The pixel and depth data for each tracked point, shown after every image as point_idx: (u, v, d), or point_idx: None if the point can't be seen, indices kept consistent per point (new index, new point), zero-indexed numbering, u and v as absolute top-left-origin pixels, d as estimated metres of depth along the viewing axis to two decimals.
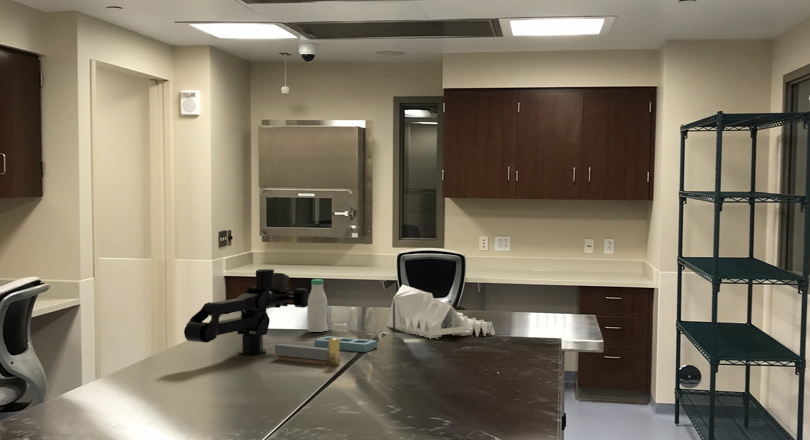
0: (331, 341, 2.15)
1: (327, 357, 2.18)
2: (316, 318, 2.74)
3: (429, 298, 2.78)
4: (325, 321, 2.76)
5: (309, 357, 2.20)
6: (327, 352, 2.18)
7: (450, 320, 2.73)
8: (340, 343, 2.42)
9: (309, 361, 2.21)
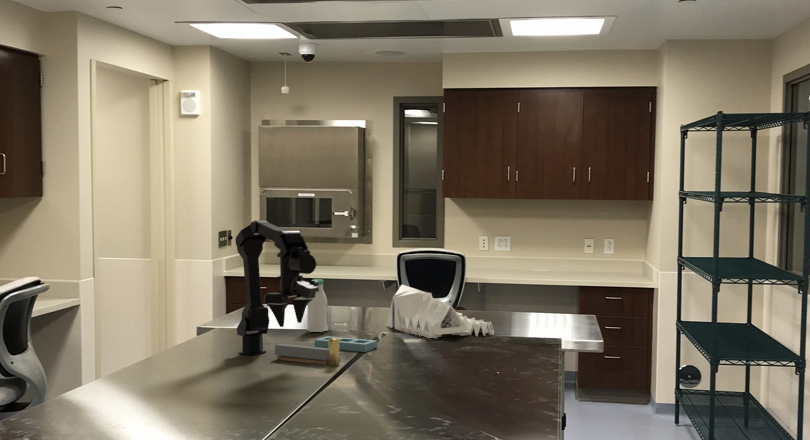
0: (331, 341, 2.15)
1: (327, 357, 2.18)
2: (316, 318, 2.74)
3: (429, 298, 2.78)
4: (325, 321, 2.76)
5: (309, 357, 2.20)
6: (327, 352, 2.18)
7: (450, 320, 2.74)
8: (340, 343, 2.42)
9: (309, 361, 2.21)
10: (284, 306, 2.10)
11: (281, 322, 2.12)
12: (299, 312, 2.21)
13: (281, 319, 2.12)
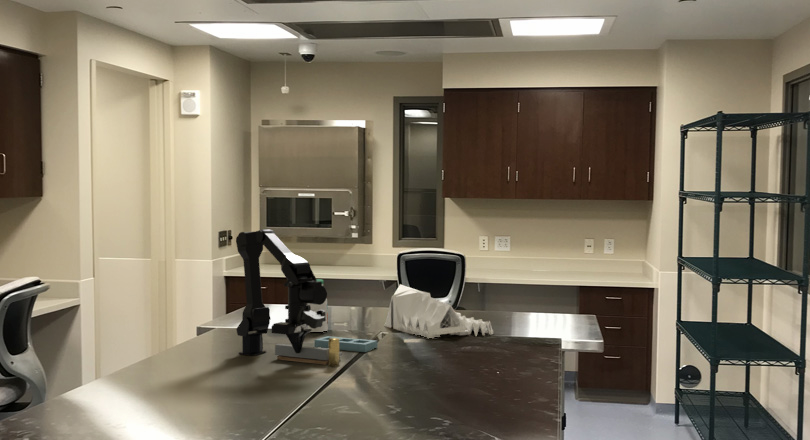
0: (331, 341, 2.15)
1: (327, 357, 2.18)
2: None
3: (428, 298, 2.79)
4: (325, 321, 2.76)
5: (309, 357, 2.20)
6: (327, 352, 2.18)
7: (449, 320, 2.74)
8: (340, 343, 2.42)
9: (309, 361, 2.21)
10: (300, 334, 2.18)
11: (297, 349, 2.20)
12: None
13: (297, 346, 2.20)
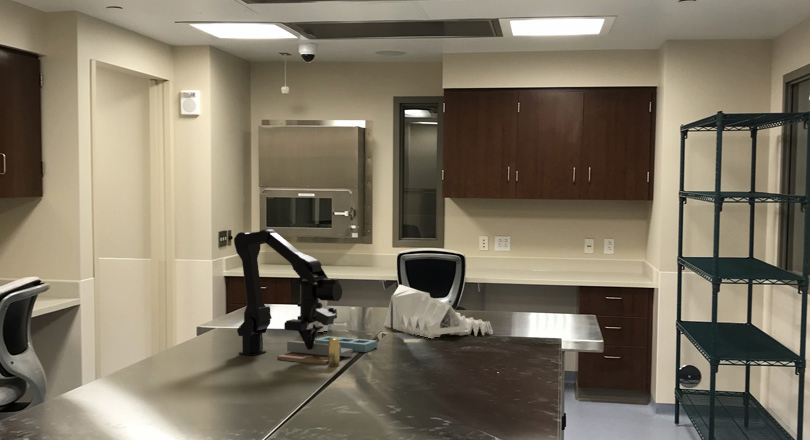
0: (331, 341, 2.15)
1: None
2: None
3: (427, 298, 2.79)
4: None
5: (321, 353, 2.26)
6: None
7: (449, 320, 2.74)
8: (340, 343, 2.42)
9: (309, 361, 2.21)
10: (312, 331, 2.23)
11: (309, 345, 2.26)
12: None
13: (309, 342, 2.25)
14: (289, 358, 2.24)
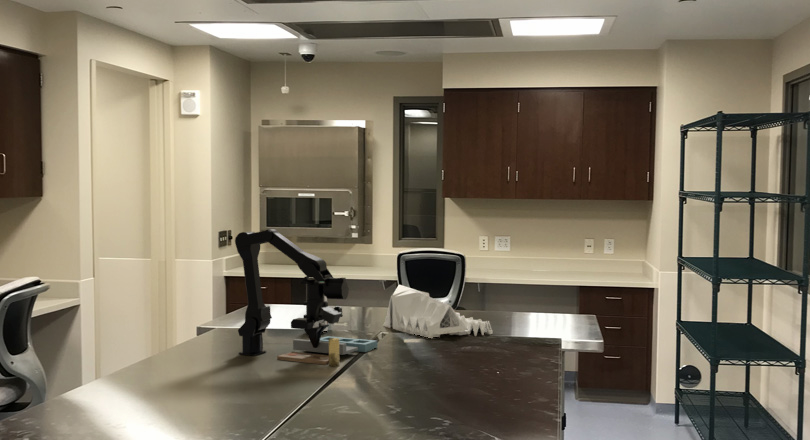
0: (331, 341, 2.15)
1: (344, 351, 2.27)
2: None
3: (427, 298, 2.79)
4: (325, 321, 2.76)
5: (326, 352, 2.29)
6: (344, 347, 2.27)
7: (448, 319, 2.74)
8: None
9: (309, 361, 2.21)
10: (318, 329, 2.26)
11: (315, 343, 2.28)
12: None
13: (315, 341, 2.28)
14: (289, 358, 2.24)
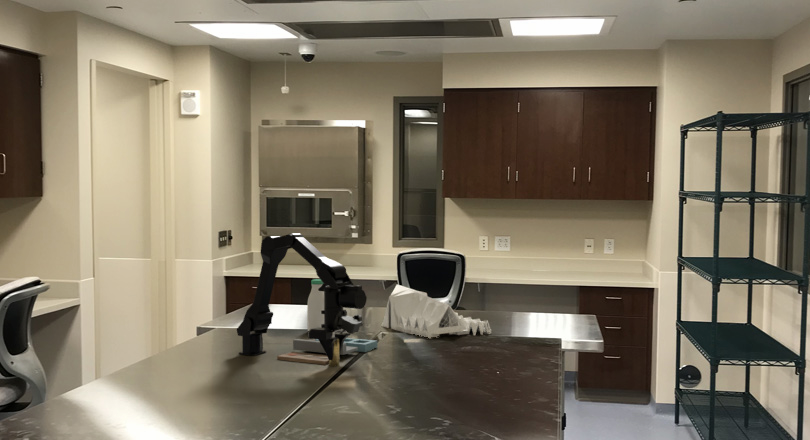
0: None
1: (344, 351, 2.27)
2: (316, 318, 2.74)
3: (425, 297, 2.79)
4: None
5: None
6: (344, 347, 2.27)
7: (447, 319, 2.75)
8: None
9: (309, 361, 2.21)
10: (334, 340, 2.12)
11: (330, 355, 2.15)
12: None
13: (330, 352, 2.14)
14: (289, 358, 2.24)
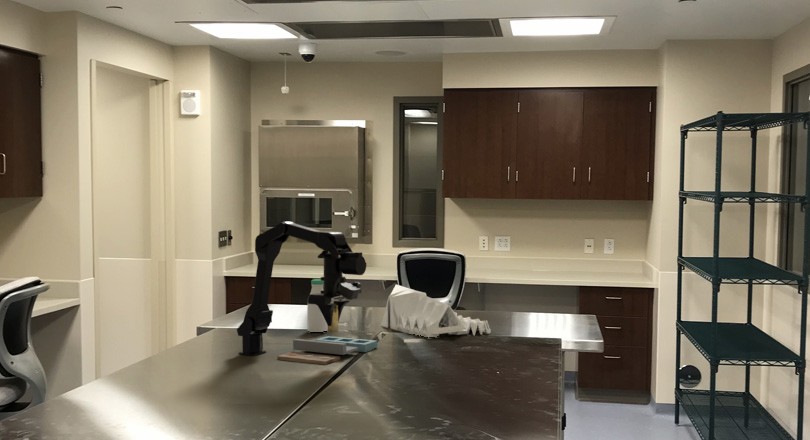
0: None
1: (344, 351, 2.27)
2: (316, 318, 2.74)
3: (425, 297, 2.80)
4: (325, 321, 2.76)
5: (326, 352, 2.29)
6: (344, 347, 2.27)
7: (447, 319, 2.75)
8: None
9: (309, 361, 2.21)
10: (333, 306, 2.15)
11: (329, 321, 2.18)
12: None
13: (329, 318, 2.17)
14: (289, 358, 2.24)
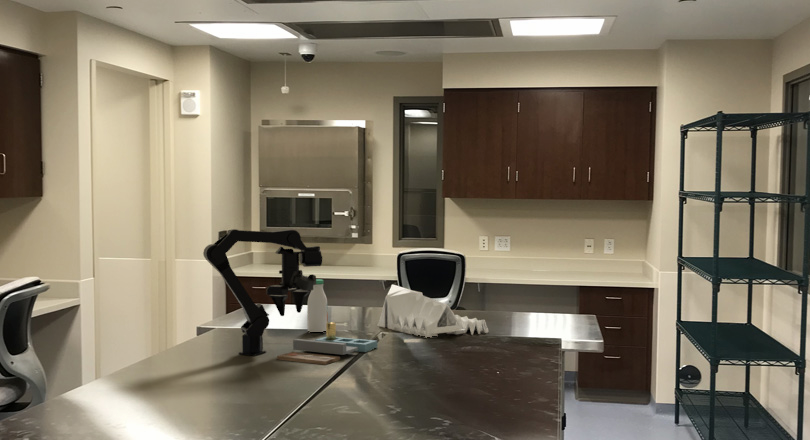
0: (328, 325, 2.47)
1: (344, 351, 2.27)
2: (316, 318, 2.74)
3: (422, 297, 2.80)
4: (325, 321, 2.76)
5: (326, 352, 2.29)
6: (344, 347, 2.27)
7: (444, 319, 2.77)
8: None
9: (309, 361, 2.21)
10: (284, 297, 2.34)
11: (282, 312, 2.36)
12: (298, 303, 2.45)
13: (282, 309, 2.36)
14: (289, 358, 2.24)
